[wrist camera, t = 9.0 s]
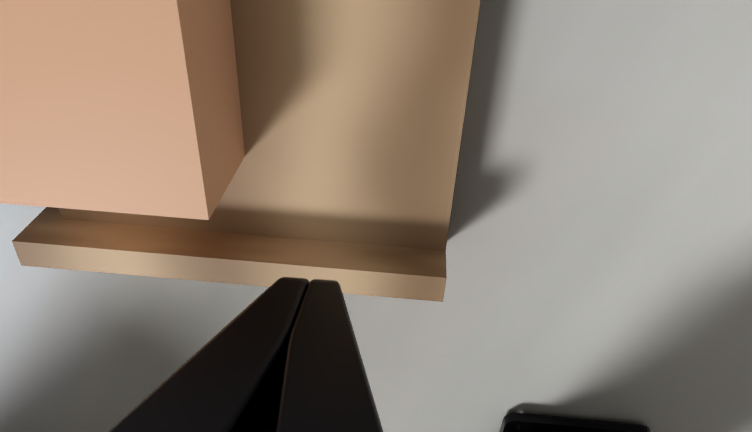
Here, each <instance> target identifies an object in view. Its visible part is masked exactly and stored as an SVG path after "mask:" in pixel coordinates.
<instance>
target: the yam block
mask: <svg viewBox="0 0 752 432" xmlns="http://www.w3.org/2000/svg"><path fill="white" fill-rule="evenodd" d="M244 157H245V150H244V140H243V129H242V119H241V108H240V98H239V88H238V77H237V67H236V56H235V46H234V35H233V25H232V14H231V4H230V0H0V203H6V204H18V205H30V206H42V207H55V208H67V209H79V210H91V211H104V212H116V213H128V214H140V215H152V216H165V217H177V218H189V219H201V220H209V219H210V217H211V215H212V214H213V212H214V210H215V208H216V206H217V205H218V203H219V201H220V199H221V198H222V196H223V194H224V192H225V191H226V189H227V187H228V185H229V184H230V182H231V180H232V178H233V176H234V175H235V173H236V171H237V169H238V168H239V166H240V164H241V162H242V161H243V159H244Z"/></svg>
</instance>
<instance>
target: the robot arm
mask: <svg viewBox="0 0 752 432" xmlns="http://www.w3.org/2000/svg"><path fill="white" fill-rule="evenodd" d="M109 432H383V429H382V426H381V422H380V419H379V416H378V412H377V409H376V406H375V402H374V399H373V395H372V392H371V389H370V385H369V382H368V378H367V375H366V372H365V368H364V365H363V361H362V358H361V355H360V351H359V348H358V345H357V341H356V338H355V334H354V331H353V328H352V324H351V321H350V317H349V314H348V311H347V307H346V304H345V300H344V297H343V294H342V290H341V287H340V284H339V283H338V282H337V281H335V280H323V279H313V280H311V281H310V282H309V280H307V279H306V278H296V277H282V278H279V279H278V280H277V281H276V282H275V283H273V284H272V285H271V286H270V287H269V288H268V289H267V290H266V291H265V292H263V293H262V294H261V295H260V296H259V297H258V298H257V299H256V300H255V301H253V302H252V303H251V304H250V305H249V306H248V307H247V308H246V309H245V310H243V311H242V312H241V313H240V314H239V315H238V316H237V317H236V318H234V319H233V320H232V321H231V322H230V323H229V324H228V325H227V326H226V327H224V328H223V329H222V330H221V331H220V332H219V333H218V334H217V335H216V336H214V337H213V338H212V339H211V340H210V341H209V342H208V343H207V344H206V345H204V346H203V347H202V348H201V349H200V350H199V351H198V352H197V353H196V354H194V355H193V356H192V357H191V358H190V359H189V360H188V361H187V362H186V363H184V364H183V365H182V366H181V367H180V368H179V369H178V370H177V371H176V372H174V373H173V374H172V375H171V376H170V377H169V378H168V379H167V380H166V381H164V382H163V383H162V384H161V385H160V386H159V387H158V388H157V389H155V390H154V391H153V392H152V393H151V394H150V395H149V396H148V397H147V398H145V399H144V400H143V401H142V402H141V403H140V404H139V405H138V406H137V407H135V408H134V409H133V410H132V411H131V412H130V413H129V414H128V415H127V416H125V417H124V418H123V419H122V420H121V421H120V422H119V423H118V424H117V425H115V426H114V427H113V428H112V429H111V430H110V431H109ZM500 432H651V431H650V429H649V428H648V427H647V426H644V425H635V424H625V423H614V422H604V421H593V420H582V419H572V418H561V417H550V416H540V415H529V414H518V413H512V414H508V415H506V416H505V417H504V419H503V421H502V425H501V429H500Z"/></svg>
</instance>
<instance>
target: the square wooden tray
mask: <svg viewBox="0 0 752 432" xmlns="http://www.w3.org/2000/svg"><path fill="white" fill-rule="evenodd" d="M230 4H231V14H232V25H233V35H234V46H235V56H236V67H237V77H238V88H239V98H240V108H241V119H242V129H243V140H244V150H245V157H244V159H243V161H242V162H241V164H240V166H239V168H238V169H237V171H236V173H235V175H234V176H233V178H232V180H231V182H230V184H229V185H228V187H227V189H226V191H225V192H224V194H223V196H222V198H221V199H220V201H219V203H218V205H217V206H216V208H215V210H214V212H213V214H212V215H211V217H210V219H209V220H201V219H189V218H177V217H165V216H152V215H140V214H128V213H116V212H104V211H91V210H79V209H67V208H55V207H46V208H45V209H44V210H43V211H42V212H41V213H40V214H39V215H38V216H37V217H36V218H35V219H34V220H33V221H32V222H31V223H30V224H29V225H28V226H27V227H26V228H25V229H24V230H23V231H22V232H21V233H20V234H19V235H18V236H17V237H16V238H15V239H14V240H13V241H12V242H13V245H14V248H15V250H16V253H17V255H18V258H19V260H20V263H21V265H23V266H35V267H47V268H58V269H70V270H81V271H93V272H105V273H116V274H128V275H139V276H151V277H162V278H174V279H186V280H197V281H209V282H220V283H232V284H244V285H255V286H267V287H270V286H271V285H272V284H273V283H275V282H276V281H277V280H278V279H279V278H282V277H296V278H306V279H307V280H309V282H310V281H311V280H313V279H323V280H335V281H337V282H338V283H339V284H340V287H341V290H342V293H348V294H359V295H371V296H383V297H394V298H406V299H417V300H429V301H440V302H443V298H444V291H445V284H446V244H447V236H448V229H449V222H450V215H451V208H452V201H453V193H454V186H455V179H456V172H457V165H458V158H459V150H460V143H461V136H462V129H463V122H464V115H465V108H466V100H467V93H468V86H469V79H470V72H471V65H472V57H473V50H474V43H475V36H476V29H477V22H478V14H479V7H480V0H230Z"/></svg>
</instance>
